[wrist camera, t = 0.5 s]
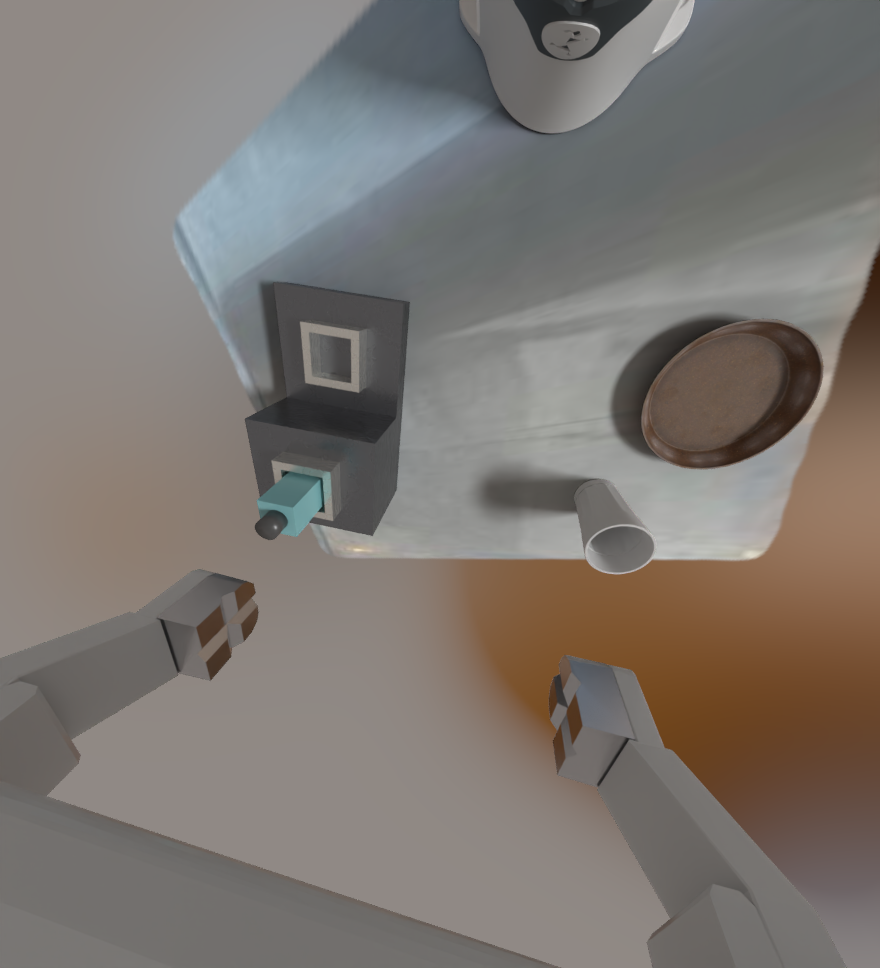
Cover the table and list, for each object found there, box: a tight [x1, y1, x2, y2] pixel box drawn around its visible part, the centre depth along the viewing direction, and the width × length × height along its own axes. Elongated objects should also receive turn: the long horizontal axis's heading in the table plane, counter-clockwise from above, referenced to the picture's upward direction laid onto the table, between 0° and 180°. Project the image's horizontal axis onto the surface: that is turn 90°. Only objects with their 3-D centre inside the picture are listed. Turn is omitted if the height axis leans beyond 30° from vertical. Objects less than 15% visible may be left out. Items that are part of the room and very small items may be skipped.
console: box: [245, 282, 410, 536], centre depth 43 cm, size 28×16×14 cm, turn 172°
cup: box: [574, 479, 657, 574], centre depth 45 cm, size 8×8×12 cm
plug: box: [255, 471, 324, 540], centre depth 38 cm, size 5×4×10 cm
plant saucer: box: [641, 319, 824, 469], centre depth 40 cm, size 18×18×3 cm
